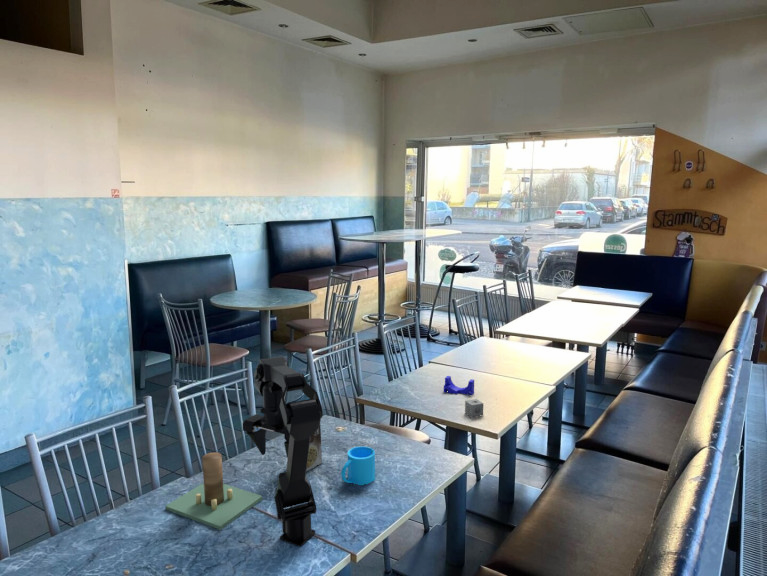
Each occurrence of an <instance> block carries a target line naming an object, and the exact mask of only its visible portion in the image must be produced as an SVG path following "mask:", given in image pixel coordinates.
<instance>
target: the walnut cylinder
mask: <svg viewBox="0 0 767 576" xmlns="http://www.w3.org/2000/svg"><path fill="white" fill-rule="evenodd" d="M201 458H202V459H201V462H202V476H203V478H202V479H203V483H204V495H205V504H206V505H208V506H212V505H211V500H212V499H217V505H219V504H221V503H223V501H224V490H223V484H224V477H223V476H224V473H223V459H222V458H223V456H222V453H221V452H209V453H206V454H204V455H203V456H202V457H201Z"/></svg>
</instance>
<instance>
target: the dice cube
mask: <svg viewBox="0 0 767 576" xmlns="http://www.w3.org/2000/svg"><path fill="white" fill-rule="evenodd" d="M464 407H465V408H464V413H465V412H466V413H467V414H468V415H467V414H466V413H465V414H466V415H467V416H469V417H470V416H471V417H473V418H475V417H474V416H478V417H481V416H480V415H483V416H484V402H482V401H480V400H479V399H478V398H474V399H469V400H465V401H464ZM471 417H470V418H471Z"/></svg>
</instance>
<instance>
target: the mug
mask: <svg viewBox="0 0 767 576" xmlns="http://www.w3.org/2000/svg"><path fill="white" fill-rule="evenodd" d="M346 472H347V478H346ZM340 475H341V479H342V480H343V482H345V483H348V484H350V483H351V484H352V483H354V484H353V485H355V484H358V486H365V485H364V484H366V485H369V484H368V483H370V484H372V483H373V482H374V481H375V479H376V451H375V449H373V448H372V447H370V446H362V445H361V446H359V445H358V446H355V447H352V448H350V449H349V450H348V451H347V461H346V462H345V464H344V466H343V467H342V469H341V473H340ZM372 481H373V482H372ZM371 482H372V483H371Z"/></svg>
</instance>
